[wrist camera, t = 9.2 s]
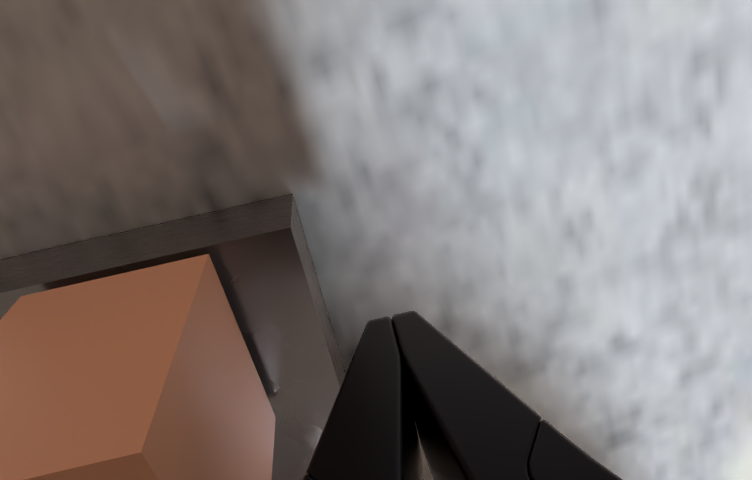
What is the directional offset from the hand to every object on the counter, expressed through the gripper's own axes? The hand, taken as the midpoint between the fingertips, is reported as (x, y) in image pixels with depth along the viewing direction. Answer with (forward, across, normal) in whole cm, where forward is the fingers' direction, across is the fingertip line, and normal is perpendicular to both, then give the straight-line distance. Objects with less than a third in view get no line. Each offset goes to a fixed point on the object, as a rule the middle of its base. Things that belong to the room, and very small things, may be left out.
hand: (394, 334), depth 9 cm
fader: (+1, +4, 0) cm, 4 cm away
